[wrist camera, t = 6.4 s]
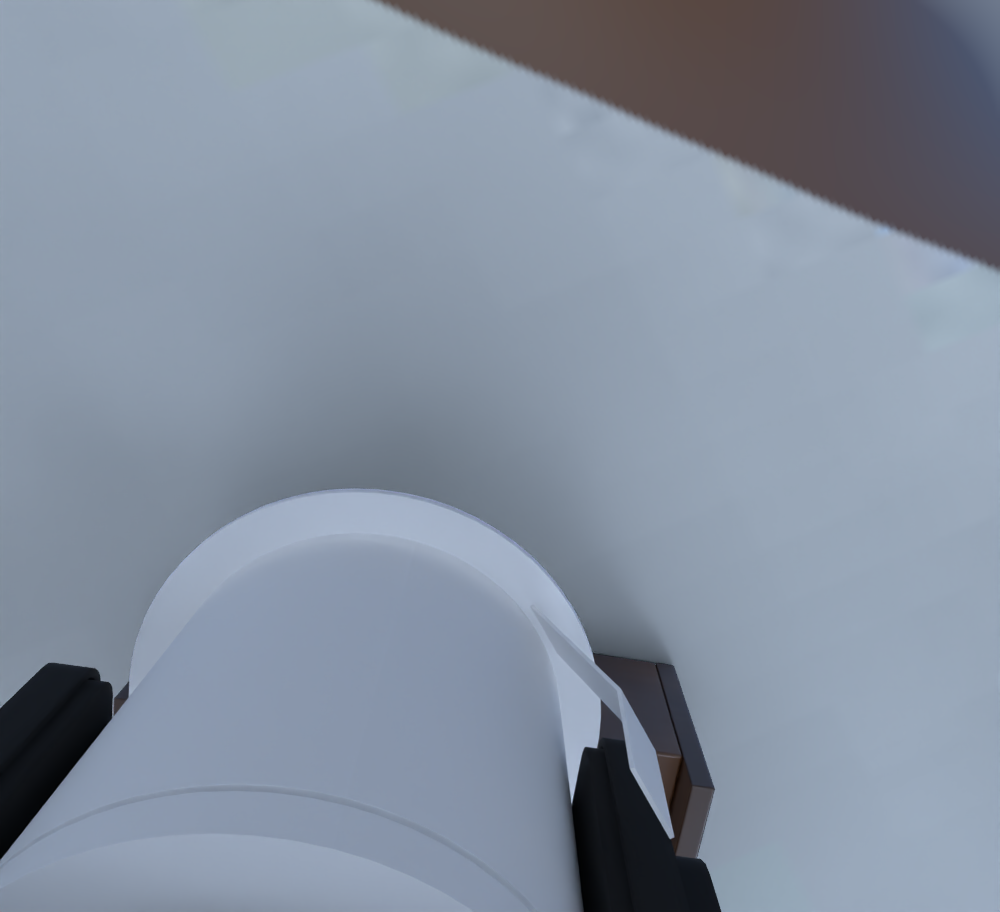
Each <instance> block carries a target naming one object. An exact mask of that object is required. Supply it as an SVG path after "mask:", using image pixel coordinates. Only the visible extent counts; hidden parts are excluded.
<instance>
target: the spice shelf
mask: <svg viewBox="0 0 1000 912" xmlns="http://www.w3.org/2000/svg"><path fill="white" fill-rule="evenodd" d="M593 658H594V662H595V664H596V665H597V666H598V667H599V668H600V669H601V670H602V671H603V672H604V673H605V674H606V675H607V676H608V677H609V678H610V679H611V680H612V681H613V682H614V683H616V684H617V685H618V686H619V687H620V688H621V690H622V692H623V693H624V695H625V697H626V699H627V700H628V702H629V704H630V706H631V708H632V709H633V711H634V713H635V715H636V717H637V718H638V720H639V722H640V724H641V726H642V727H643V729H644V731H645V733H646V734H647V736H648V738H649V740H650V742H651V743H652V745H653V747H654V749H655V751H656V755H657V759H658V764H659V769H660V773H661V778H662V783H663V787H664V792H665V796H666V801H667V806H668V810H669V815H670V819H671V824H672V829H673V833H674V838H671V841H672V845H673V849H674V853H675V856H681V857H689V858H697V856H698V852H699V848H700V844H701V840H702V837H703V833H704V829H705V825H706V821H707V817H708V813H709V810H710V806H711V802H712V798H713V794H714V790H715V789H714V785H713V782H712V779H711V776H710V773H709V770H708V767H707V764H706V761H705V758H704V755H703V752H702V749H701V746H700V743H699V740H698V737H697V734H696V731H695V728H694V725H693V722H692V719H691V716H690V713H689V710H688V707H687V704H686V701H685V698H684V695H683V692H682V689H681V686H680V683H679V680H678V677H677V674H676V671H675V668H674V666H673V665H667V664H660V663H656V665H655V664H654V663H650V662H643V661H637V660H630V659H624V658H617V657H611V656H604V655H598V654H593ZM128 698H129V682H128V683H127V684H126V685H125V686H124V688H123V689H122V690H121V691H120V692H119V693H118V695H117V696H116V697H115V698H114V715H115V714H116V713H117V712H118V710H119V709H120V708H121V707H122V705H123V704H124V703H125V701H126V700H127V699H128ZM602 737H604V738H611V739H618V740H625V736H624V730H623V724H622V721H621V720H620V719H619V718H618V717H617V716H616V715H615V714H614V713H613V712H612V711H611V710H610V708H609V707H608V706H607V705H606V704H605V703H604V702H603V701H602V700H601V722H600V733H599V740H598V744H599V742H600V739H601V738H602ZM597 748H598V745H597Z"/></svg>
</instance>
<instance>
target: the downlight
mask: <svg viewBox="0 0 1000 912" xmlns="http://www.w3.org/2000/svg"><path fill="white" fill-rule="evenodd" d="M601 700H602V701H603V702H604V703H605V704H606V705H607V706H608V707H609V708H610V710H611V711H612V712H613V713H614V714H615V715H616V716H617V717H618V718H619V719H620V720H621V721H622V724H623V730H624V736H625V742H626V748H627V755H628V761H629V767H630V770H631V772H632V774H633V775H634V777H635V779H636V781H637V782H638V784H639V786H640V788H641V789H642V791H643V793H644V795H645V796H646V798H647V800H648V802H649V803H650V805H651V807H652V809H653V810H654V812H655V814H656V816H657V817H658V819H659V821H660V823H661V824H662V826H663V828H664V830H665V831H666V833H667V835H668V837H669V838H670V839H671V838H674V833H673V829H672V824H671V819H670V815H669V810H668V806H667V801H666V796H665V792H664V787H663V783H662V778H661V773H660V769H659V764H658V759H657V755H656V751H655V749H654V747H653V745H652V743H651V742H650V740H649V738H648V736H647V734H646V733H645V731H644V729H643V727H642V726H641V724H640V722H639V720H638V718H637V717H636V715H635V713H634V711H633V709H632V708H631V706H630V704H629V702H628V700H627V699H626V697H625V695H624V693H623V692H622V690H621V688H620V687H619V686H618V685H617V684H616V683H614V682H613V681H612V680H611V679H610V678H609V677H608V676H607V675H606V674H605V673H604V672H603V671H602V670H601V669H600V668H599V667H598V666H597V665H596V664H595V662H594V658H593V653H592V649H591V647H590V644H589V641H588V638H587V636H586V633H585V630H584V628H583V626H582V624H581V622H580V620H579V618H578V616H577V614H576V612H575V610H574V608H573V607H572V605H571V603H570V602H569V600H568V599H567V597H566V595H565V594H564V592H563V591H562V590H561V588H560V587H559V586H558V584H557V583H556V582H555V581H554V579H553V578H552V577H551V576H550V574H549V573H548V572H547V571H546V570H545V569H544V568H543V567H542V566H541V565H540V564H539V563H538V562H537V561H536V560H535V558H534V557H533V556H531V555H530V554H529V553H528V552H527V551H525V550H524V549H523V548H522V547H521V546H520V545H518V544H517V543H516V542H515V541H513V540H512V539H511V538H509V537H508V536H506V535H505V534H503V533H502V532H501V531H499V530H498V529H496V528H495V527H493V526H491V525H489V524H488V523H486V522H484V521H482V520H480V519H479V518H477V517H475V516H473V515H471V514H469V513H466V512H464V511H462V510H460V509H457V508H455V507H453V506H450V505H447V504H444V503H441V502H438V501H435V500H432V499H429V498H425V497H421V496H417V495H412V494H408V493H403V492H396V491H389V490H382V489H362V488H350V489H331V490H324V491H317V492H310V493H305V494H301V495H297V496H292V497H288V498H284V499H281V500H279V501H276V502H273V503H270V504H267V505H264V506H261V507H259V508H257V509H255V510H253V511H251V512H249V513H246V514H244V515H242V516H240V517H238V518H237V519H235V520H233V521H232V522H230V523H228V524H227V525H225V526H223V527H222V528H220V529H219V530H218V531H216V532H215V533H214V534H212V535H211V536H210V537H208V538H207V539H206V540H204V541H203V542H202V543H201V544H200V545H199V546H198V547H196V548H195V549H194V550H193V551H192V552H191V553H190V554H189V555H188V556H187V557H186V558H185V559H184V560H183V561H182V562H181V563H180V564H179V566H178V567H177V568H176V569H175V570H174V571H173V573H172V574H171V575H170V576H169V577H168V578H167V580H166V581H165V583H164V584H163V586H162V587H161V589H160V590H159V592H158V593H157V595H156V596H155V598H154V600H153V602H152V604H151V605H150V607H149V609H148V611H147V613H146V615H145V617H144V620H143V622H142V625H141V628H140V630H139V633H138V636H137V639H136V643H135V647H134V651H133V654H132V661H131V668H130V674H129V698H128V699H127V700H126V701H125V703H124V704H123V705H122V707H121V708H120V709H119V710H118V712H117V713H116V714H115V715H114V717H113V718H112V719H111V720H110V722H109V723H108V724H107V726H106V727H105V728H104V729H103V731H102V732H101V733H100V734H99V736H98V737H97V738H96V740H95V741H94V742H93V743H92V745H91V746H90V747H89V748H88V750H87V751H86V752H85V753H84V755H83V756H82V757H81V759H80V760H79V761H78V762H77V764H76V765H75V766H74V767H73V769H72V770H71V771H70V772H69V774H68V775H67V776H66V778H65V779H64V780H63V781H62V783H61V784H60V785H59V786H58V788H57V789H56V790H55V792H54V793H53V794H52V795H51V797H50V798H49V799H48V800H47V802H46V803H45V804H44V805H43V807H42V808H41V809H40V811H39V812H38V813H37V814H36V816H35V817H34V818H33V819H32V821H31V822H30V823H29V824H28V826H27V827H26V828H25V830H24V831H23V832H22V833H21V835H20V836H19V837H18V838H17V840H16V841H15V842H14V844H13V845H12V846H11V847H10V849H9V850H8V851H7V852H6V854H5V855H4V856H3V857H2V859H1V860H0V912H584V908H583V900H582V891H581V882H580V873H579V865H578V856H577V847H576V839H575V830H574V821H573V813H572V801H573V796H574V791H575V786H576V781H577V776H578V771H579V766H580V761H581V756H582V752H583V750H584V748H585V747H591V748H597V745H598V740H599V733H600V722H601Z"/></svg>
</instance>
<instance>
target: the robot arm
mask: <svg viewBox="0 0 1000 912" xmlns="http://www.w3.org/2000/svg"><path fill="white" fill-rule="evenodd" d="M112 699H113V692H112V686H111V684H110V683H109V682H103V681H101V680H100V675H99V672H98V670H96V669H95V668H88V667H81V666H73V665H66V664H59V663H48V664H47V665H45V666H44V667H42V668H41V669H40V670H39V671H38V672H37V673H36V674H35V675H34V676H33V677H32V678H31V679H30V680H29V681H28V682H27V683H26V684H25V685H24V686H23V687H22V688H21V689H20V690H19V691H18V692H17V693H16V694H15V695H14V696H13V697H12V698H11V699H10V700H9V701H7V702H6V703H5V704H4V705H3V706H2V707H1V708H0V860H1V859H2V857H3V856H4V855H5V854H6V852H7V851H8V850H9V849H10V847H11V846H12V845H13V844H14V842H15V841H16V840H17V838H18V837H19V836H20V835H21V833H22V832H23V831H24V830H25V828H26V827H27V826H28V824H29V823H30V822H31V821H32V819H33V818H34V817H35V816H36V814H37V813H38V812H39V811H40V809H41V808H42V807H43V805H44V804H45V803H46V802H47V800H48V799H49V798H50V797H51V795H52V794H53V793H54V792H55V790H56V789H57V788H58V786H59V785H60V784H61V783H62V781H63V780H64V779H65V778H66V776H67V775H68V774H69V772H70V771H71V770H72V769H73V767H74V766H75V765H76V764H77V762H78V761H79V760H80V759H81V757H82V756H83V755H84V753H85V752H86V751H87V750H88V748H89V747H90V746H91V745H92V743H93V742H94V741H95V740H96V738H97V737H98V736H99V734H100V733H101V732H102V731H103V729H104V728H105V727H106V726H107V724H108V723H109V722H110V720H111V719H112ZM572 813H573V821H574V830H575V839H576V847H577V856H578V865H579V873H580V882H581V891H582V900H583V908H584V912H721V909H720V906H719V903H718V899H717V896H716V893H715V890H714V887H713V883H712V880H711V877H710V874H709V871H708V869H707V867H706V864H705V863H704V862H703V861H702V860H701V859H697V858H689V857H681V856H675V853H674V849H673V845H672V841H671V839H670V838H669V837H668V835H667V833H666V831H665V830H664V828H663V826H662V824H661V823H660V821H659V819H658V817H657V816H656V814H655V812H654V810H653V809H652V807H651V805H650V803H649V802H648V800H647V798H646V796H645V795H644V793H643V791H642V789H641V788H640V786H639V784H638V782H637V781H636V779H635V777H634V775H633V774H632V772H631V770H630V767H629V761H628V755H627V748H626V742H625V740H618V739H611V738H604V737H602V738H601V739H600V742H599V744H598V748H591V747H585V748H584V750H583V752H582V756H581V761H580V766H579V771H578V776H577V781H576V786H575V791H574V796H573V801H572Z"/></svg>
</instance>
